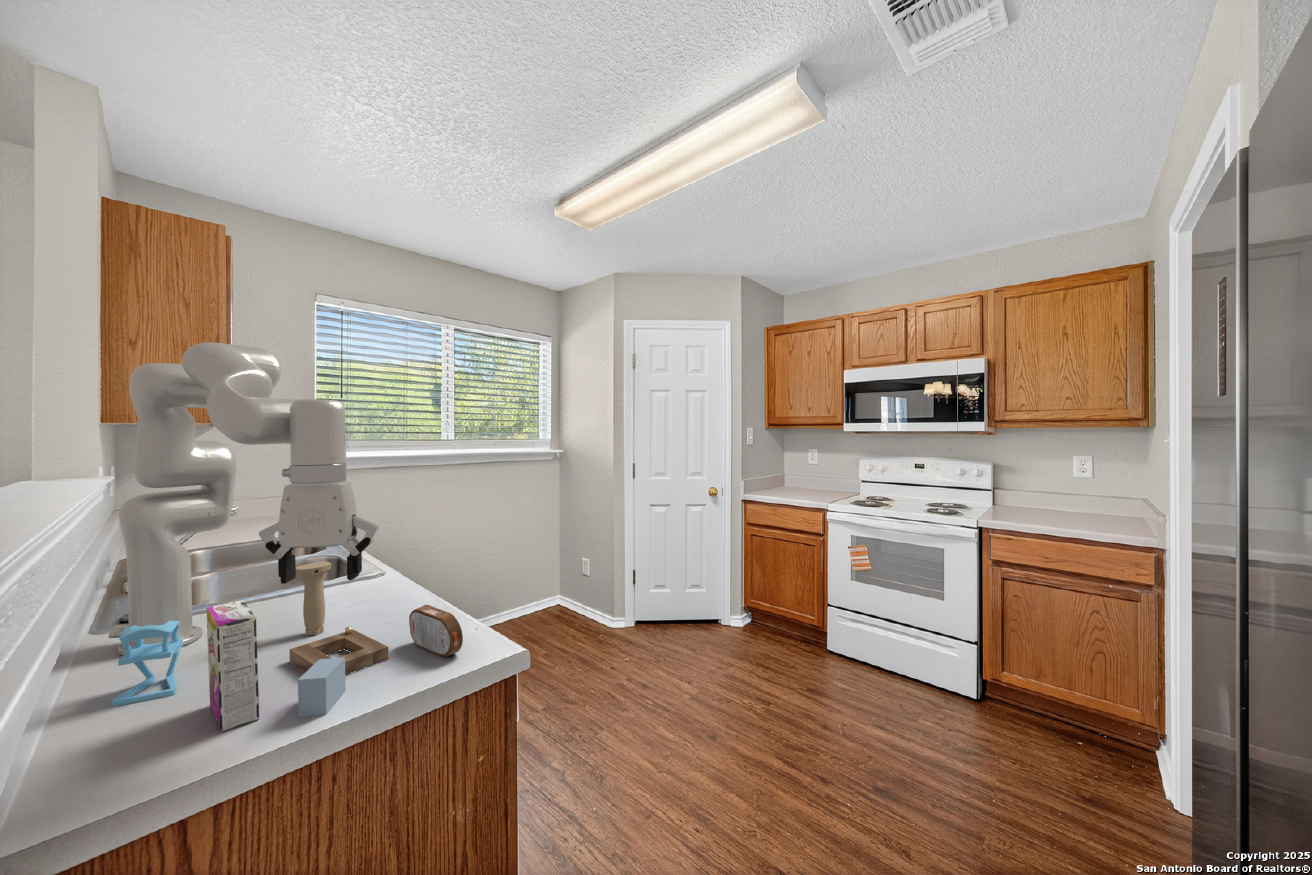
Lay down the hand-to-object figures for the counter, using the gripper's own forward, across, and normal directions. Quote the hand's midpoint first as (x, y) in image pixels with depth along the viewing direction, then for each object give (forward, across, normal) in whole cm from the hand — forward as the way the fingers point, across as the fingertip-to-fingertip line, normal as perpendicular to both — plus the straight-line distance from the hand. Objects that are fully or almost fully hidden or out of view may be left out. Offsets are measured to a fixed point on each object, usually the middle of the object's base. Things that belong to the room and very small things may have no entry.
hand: (321, 579), depth 82 cm
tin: (+21, +13, +18) cm, 30 cm away
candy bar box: (+21, -13, -1) cm, 24 cm away
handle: (+21, -15, +31) cm, 40 cm away
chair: (+21, -31, +10) cm, 39 cm away
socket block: (+20, -4, +16) cm, 26 cm away
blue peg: (+21, 0, 0) cm, 21 cm away
